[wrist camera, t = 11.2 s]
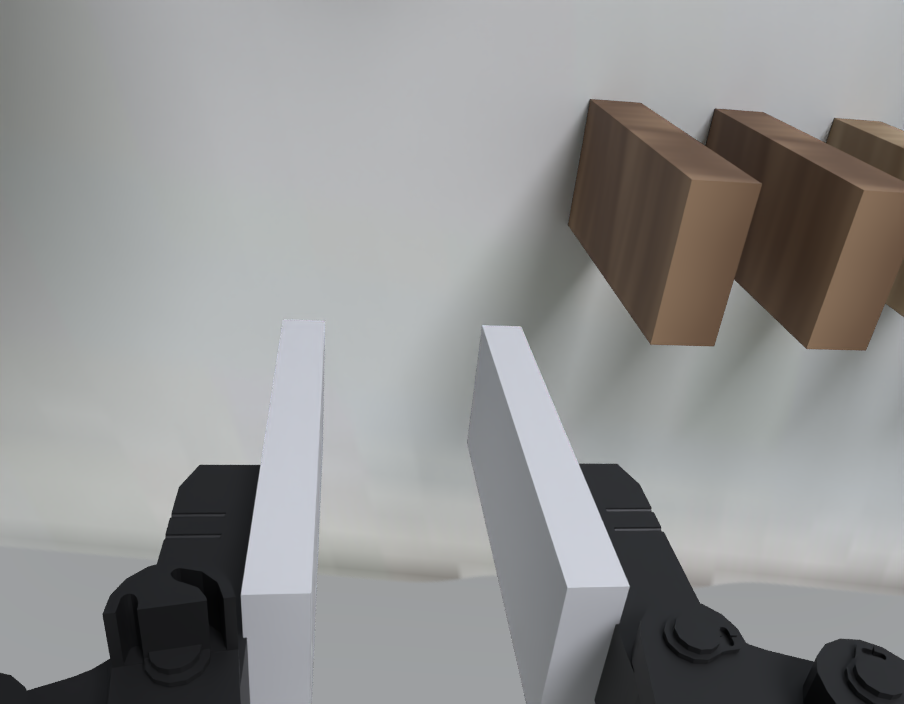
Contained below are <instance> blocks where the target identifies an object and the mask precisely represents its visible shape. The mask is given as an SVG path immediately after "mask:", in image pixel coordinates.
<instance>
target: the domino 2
mask: <svg viewBox="0 0 904 704" xmlns="http://www.w3.org/2000/svg"><path fill="white" fill-rule="evenodd" d="M706 147H708V148H709V149H711V150H712V151H714V152H715V153H717V154H718V155H720V156H721V157H723V158H724V159H726V160H727V161H729V162H730V163H732V164H733V165H735V166H736V167H738V168H739V169H741V170H742V171H744V172H745V173H747V174H748V175H750V176H751V177H753V178H754V179H756V180H757V181H759V182H760V183H762V186H761V190H760V193H759V197H758V200H757V203H756V207H755V210H754V213H753V217H752V220H751V224H750V227H749V230H748V234H747V237H746V240H745V244H744V247H743V251H742V254H741V257H740V261H739V264H738V267H737V271H736V274H735V278H734V280H735V281H736V282H737V283H738V284H739V285H741V286H742V287H743V288H744V289H745V290H746V291H747V292H748V293H749V294H750V295H751V296H752V297H753V298H754V299H755V300H756V301H757V302H758V303H759V304H760V305H761V306H762V307H763V308H764V309H766V310H767V311H768V312H769V313H770V314H771V315H772V316H773V317H774V318H775V319H776V320H777V321H778V322H779V323H780V324H781V325H782V326H783V327H784V328H785V329H786V330H787V331H788V332H789V333H790V334H792V335H793V336H794V337H795V338H796V339H797V340H798V341H799V342H800V343H801V344H802V345H803V346H804V347H805V348H806V349H829V350H866V349H867V347H868V344H869V342H870V339H871V337H872V334H873V332H874V329H875V327H876V325H877V322H878V320H879V317H880V315H881V312H882V310H883V307H884V305H885V302H886V300H887V298H888V295H889V293H890V290H891V288H892V285H893V283H894V280H895V278H896V275H897V273H898V270H899V268H900V266H901V263H902V261H903V258H904V181H902V180H900V179H898V178H895V177H893V176H891V175H889V174H887V173H885V172H883V171H881V170H879V169H877V168H875V167H873V166H871V165H869V164H867V163H865V162H863V161H861V160H859V159H857V158H855V157H853V156H851V155H849V154H847V153H845V152H843V151H841V150H839V149H837V148H835V147H833V146H831V145H829V144H827V143H825V142H823V141H820V140H818V139H816V138H814V137H812V136H810V135H808V134H806V133H804V132H802V131H800V130H798V129H796V128H794V127H792V126H790V125H788V124H786V123H784V122H782V121H780V120H778V119H776V118H774V117H772V116H770V115H768V114H766V113H764V112H753V111H740V110H727V109H715V111H714V115H713V119H712V123H711V126H710V130H709V134H708V138H707V142H706Z"/></svg>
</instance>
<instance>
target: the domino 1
mask: <svg viewBox="0 0 904 704" xmlns="http://www.w3.org/2000/svg"><path fill="white" fill-rule="evenodd" d="M761 186H762V183H760V182H759V181H757V180H756V179H754V178H753V177H751V176H750V175H748V174H747V173H745V172H744V171H742V170H741V169H739V168H738V167H736V166H735V165H733V164H732V163H730V162H729V161H727V160H726V159H724V158H723V157H721V156H720V155H718V154H717V153H715V152H714V151H712V150H711V149H709V148H708V147H706V146H705V145H703V144H702V143H700V142H699V141H697V140H696V139H694V138H693V137H691V136H690V135H688V134H687V133H685V132H684V131H682V130H681V129H679V128H678V127H676V126H675V125H673V124H672V123H670V122H669V121H667V120H666V119H664V118H663V117H661V116H660V115H658V114H657V113H655V112H654V111H652V110H651V109H649V108H648V107H646V106H645V105H643V104H642V103H635V102H621V101H608V100H595V99H590V103H589V109H588V115H587V121H586V126H585V132H584V138H583V143H582V149H581V155H580V160H579V166H578V172H577V177H576V183H575V189H574V194H573V200H572V206H571V211H570V217H569V223H568V226H569V227H570V229H571V230H572V232H573V233H574V235H575V236H576V237H577V239H578V240H579V242H580V243H581V245H582V246H583V248H584V249H585V250H586V252H587V253H588V255H589V256H590V258H591V259H592V261H593V262H594V263H595V265H596V266H597V268H598V269H599V271H600V272H601V274H602V275H603V276H604V278H605V279H606V281H607V282H608V284H609V285H610V287H611V288H612V289H613V291H614V292H615V294H616V295H617V297H618V298H619V300H620V301H621V302H622V304H623V305H624V307H625V308H626V310H627V311H628V313H629V314H630V315H631V317H632V318H633V320H634V321H635V323H636V324H637V325H638V327H639V328H640V330H641V331H642V333H643V334H644V336H645V337H646V338H647V340H648V341H649V343H650V344H651V345H685V346H714V345H715V342H716V338H717V335H718V332H719V328H720V325H721V321H722V318H723V315H724V311H725V308H726V305H727V301H728V298H729V294H730V291H731V288H732V284H733V281H734V278H735V274H736V271H737V267H738V264H739V261H740V257H741V254H742V251H743V247H744V244H745V240H746V237H747V234H748V230H749V227H750V224H751V220H752V217H753V213H754V210H755V207H756V203H757V200H758V197H759V193H760V190H761Z"/></svg>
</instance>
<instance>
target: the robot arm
mask: <svg viewBox="0 0 904 704" xmlns="http://www.w3.org/2000/svg"><path fill="white" fill-rule="evenodd" d="M324 353H325V321H324V320H291V319H283V322H282V328H281V335H280V341H279V348H278V355H277V361H276V368H275V374H274V381H273V387H272V394H271V400H270V407H269V414H268V420H267V427H266V433H265V440H264V446H263V453H262V459H261V465H199V466H198V467H197V468H196V469H195V471H194V472H193V473H192V474H191V475H190V476H189V477H188V478H187V479H186V480H185V481H184V482H183V483H182V484H181V486H180V487H179V489H178V493H177V496H176V500H175V503H174V507H173V510H172V517H171V518H170V520H169V524H168V527H167V531H166V538H165V540H164V541H163V545H162V548H161V552H160V555H159V559H158V562H157V565H153V566H149V567H147V568H145V569H143V570H141V571H139V572H138V573H136V574H134V575H132V576H130V577H129V578H127V579H126V580H125V581H124V582H123V583H122V584H121V585H120V586H119V587H118V588H117V589H116V590H115V591H114V592H113V593H112V594H111V595H110V597H109V600H108V602H107V605H106V607H105V609H104V612H103V620H104V625H105V631H106V637H107V642H108V648H109V653H110V659H109V660H107V661H105V662H104V663H102V664H100V665H99V666H97V667H95V668H94V669H92V670H89V671H87V672H84V673H82V674H79V675H77V676H74V677H71V678H68V679H65V680H61V681H58V682H55V683H52V684H48V685H45V686H41V687H38V688H34V689H31V690H28V691H26V688H25V687H24V686H23V685H22V684H21V683H19V682H18V681H17V680H16V679H15V678H14V677H12V676H11V675H7V674H3V673H0V704H312V687H313V664H314V640H315V616H316V592H317V570H318V547H319V523H320V500H321V476H322V453H323V412H324ZM467 444H468V448H469V453H470V457H471V462H472V466H473V470H474V475H475V479H476V484H477V488H478V493H479V497H480V501H481V506H482V510H483V515H484V519H485V524H486V528H487V532H488V537H489V541H490V546H491V550H492V554H493V559H494V563H495V568H496V572H497V577H498V581H499V585H500V590H501V594H502V598H503V603H504V607H505V611H506V616H507V621H508V625H509V629H510V634H511V638H512V643H513V647H514V652H515V656H516V661H517V665H518V669H519V674H520V678H521V683H522V687H523V691H524V696H525V700H526V704H904V660H902V659H901V658H899V657H897V656H895V655H894V654H892V653H891V652H889V651H887V650H886V649H884V648H882V647H880V646H877V645H874V644H870V643H868V642H864V641H862V640H853V639H838V640H835V641H833V642H830V643H827V644H825V645H824V647H823V648H822V649H821V651H820V652H819V654H818V655H817V657H816V659H815V661H814V662H813V661H809V660H805V659H801V658H796V657H792V656H788V655H784V654H780V653H776V652H772V651H768V650H764V649H761V648H758V647H755V646H752V645H749V644H747V643H746V642H745V640H744V639H743V637H742V635H741V634H740V632H739V630H738V629H737V628H736V627H735V626H734V625H733V624H732V623H731V622H730V621H728V620H727V619H726V618H725V617H724V616H723V615H722V614H720V613H718V612H716V611H714V610H712V609H711V608H708V607H707V606H705V605H703V604H700V602H699V600H698V598H697V597H696V594H695V593H694V591H693V589H692V587H691V585H690V583H689V581H688V579H687V577H686V575H685V573H684V571H683V569H682V567H681V565H680V563H679V561H678V559H677V557H676V555H675V553H674V551H673V549H672V547H671V545H670V543H669V541H668V539H667V537H666V535H665V533H664V532H661V526H660V524H659V522H658V520H657V518H656V516H655V514H654V512H651V506H650V504H649V502H648V500H647V498H646V496H645V494H644V492H643V490H642V488H641V486H640V484H639V483H638V482H636V481H635V480H634V479H633V478H632V477H631V476H630V475H629V474H628V473H627V472H625V471H624V470H623V469H622V468H621V467H620V466H619V465H618V464H578V461H577V459H576V456H575V454H574V452H573V449H572V447H571V444H570V442H569V440H568V437H567V435H566V432H565V430H564V428H563V425H562V423H561V420H560V418H559V416H558V413H557V411H556V408H555V406H554V404H553V401H552V399H551V396H550V394H549V392H548V389H547V387H546V384H545V382H544V380H543V377H542V375H541V373H540V370H539V368H538V365H537V363H536V361H535V358H534V356H533V353H532V351H531V349H530V346H529V344H528V341H527V339H526V337H525V334H524V332H523V329H522V327H521V326H491V325H482V330H481V338H480V346H479V354H478V362H477V369H476V377H475V385H474V393H473V401H472V408H471V416H470V424H469V432H468V440H467Z"/></svg>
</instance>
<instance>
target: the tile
mask: <svg viewBox="0 0 904 704" xmlns="http://www.w3.org/2000/svg"><path fill="white" fill-rule="evenodd" d="M826 143H827V144H829V145H831V146H833V147H835V148H837V149H839V150H841V151H843V152H845V153H847V154H849V155H851V156H853V157H855V158H857V159H859V160H861V161H863V162H865V163H867V164H869V165H871V166H873V167H875V168H877V169H879V170H881V171H883V172H885V173H887V174H889V175H891V176H893V177H895V178H898V179H900V180H902V181H904V131H902V130H900V129H897V128H895V127H893V126H890V125H888V124H885V123H883V122H879V121H866V120H853V119H839V118H834V121H833V124H832V127H831V130H830V133H829V136H828V139H827V142H826ZM885 304H887V305H888V306H889V307H891V308H892V309H894V310H895V311H896V312H898V313H899V314H900V315H902V316H903V317H904V258H903V261H902V263H901V266H900V268H899V270H898V273H897V275H896V278H895V280H894V283H893V285H892V288H891V290H890V293H889V295H888V298H887V300H886V302H885Z"/></svg>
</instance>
